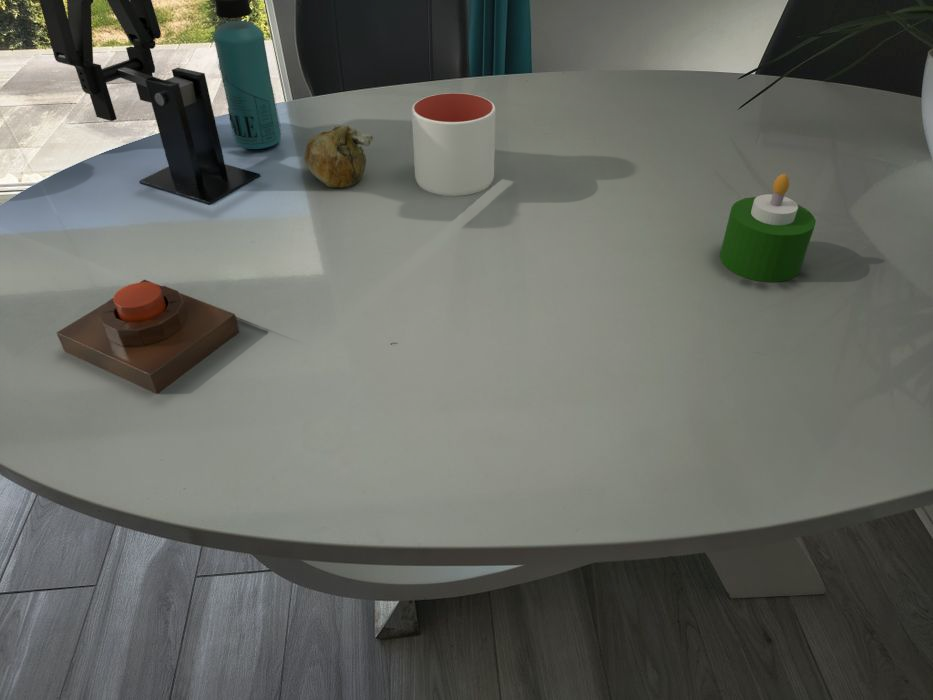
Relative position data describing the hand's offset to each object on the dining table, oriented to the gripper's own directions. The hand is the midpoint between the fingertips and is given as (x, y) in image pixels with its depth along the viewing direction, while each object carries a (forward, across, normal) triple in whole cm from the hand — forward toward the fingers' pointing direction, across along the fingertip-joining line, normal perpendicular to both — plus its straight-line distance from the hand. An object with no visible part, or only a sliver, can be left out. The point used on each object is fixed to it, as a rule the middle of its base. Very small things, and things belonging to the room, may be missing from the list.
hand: (128, 109), depth 92 cm
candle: (+7, +16, -76) cm, 78 cm away
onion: (+8, +9, -25) cm, 28 cm away
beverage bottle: (+8, +12, -9) cm, 17 cm away
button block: (+8, -26, -30) cm, 41 cm away
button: (+4, -26, -30) cm, 40 cm away
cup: (+8, +16, -38) cm, 42 cm away
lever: (-3, 0, -5) cm, 6 cm away
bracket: (+8, 0, -10) cm, 13 cm away
